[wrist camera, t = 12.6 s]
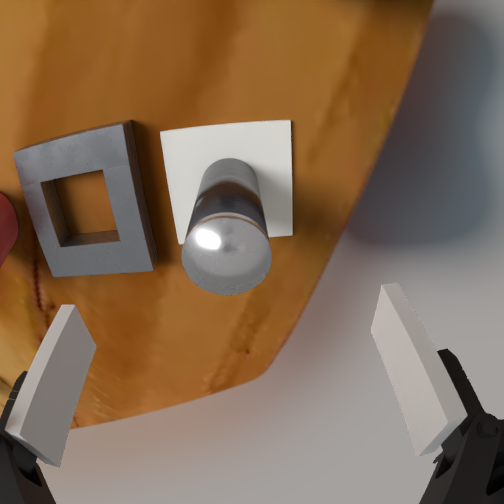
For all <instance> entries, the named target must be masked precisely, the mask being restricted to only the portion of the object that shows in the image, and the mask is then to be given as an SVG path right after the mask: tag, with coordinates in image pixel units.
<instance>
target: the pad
mask: <svg viewBox="0 0 504 504" xmlns="http://www.w3.org/2000/svg"><path fill="white" fill-rule="evenodd" d="M160 135H161V142H162V149H163V156H164V163H165V169H166V175H167V181H168V187H169V193H170V199H171V205H172V210H173V216H174V221H175V226H176V232H177V237H178V242H179V244H184V241H185V237H186V233H187V230H188V226H189V222H190V219H191V215H192V211H193V208H194V204H195V201H196V197H197V194H198V190H199V187H200V183H201V180H202V177H203V174H204V172H205V171H206V169H207V168H208V167H209V166H210V165H211V164H212V163H214V162H216V161H218V160H221V159H225V158H235V159H239V160H241V161H243V162H245V163H247V164H248V165H249V166H250V167H251V168H252V169H253V170H254V172H255V174H256V176H257V180H258V185H259V190H260V195H261V200H262V206H263V211H264V216H265V221H266V226H267V231H268V237H277V236H291V235H293V227H292V155H291V121H290V120H272V121H254V122H240V123H227V124H217V125H207V126H198V127H189V128H181V129H174V130H167V131H161V132H160Z"/></svg>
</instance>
